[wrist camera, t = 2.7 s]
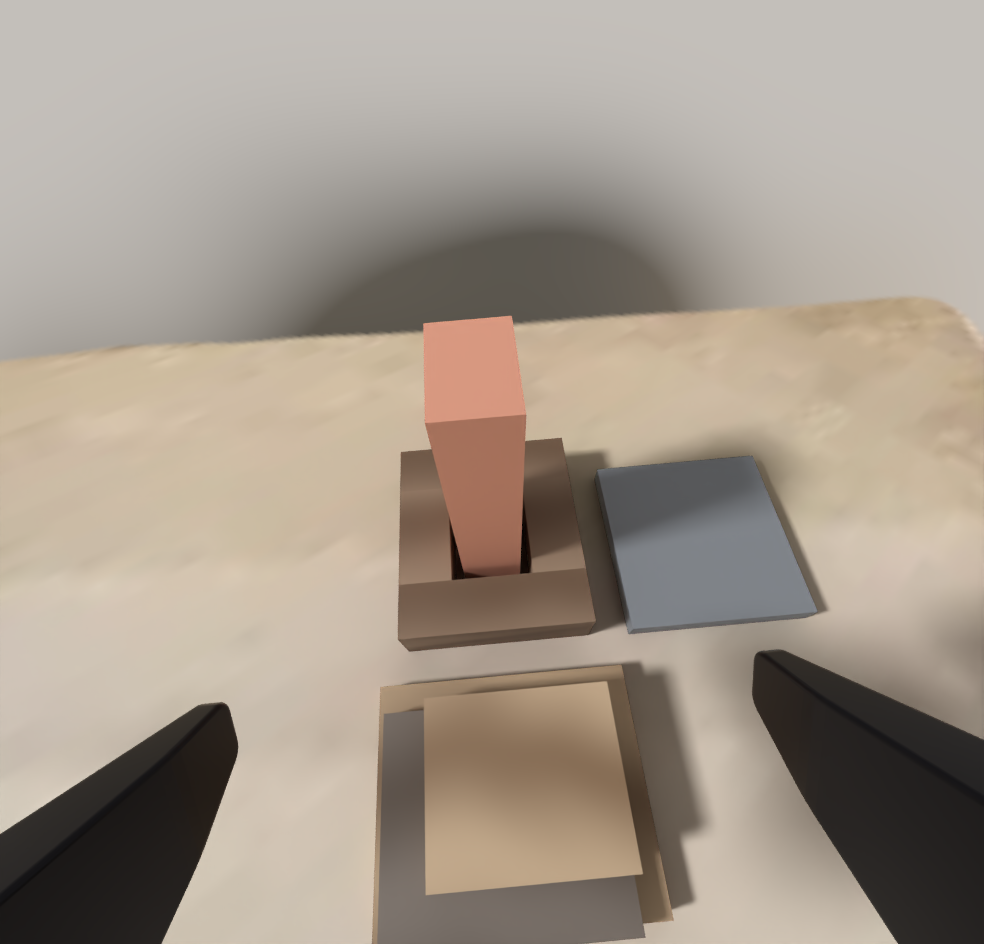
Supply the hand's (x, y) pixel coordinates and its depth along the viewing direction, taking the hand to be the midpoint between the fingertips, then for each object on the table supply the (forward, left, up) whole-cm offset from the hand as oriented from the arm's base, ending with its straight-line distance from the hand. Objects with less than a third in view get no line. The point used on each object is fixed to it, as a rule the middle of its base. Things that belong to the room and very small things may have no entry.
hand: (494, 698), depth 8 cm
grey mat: (-3, -12, -14) cm, 18 cm away
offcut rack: (+2, -3, -14) cm, 14 cm away
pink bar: (+5, -6, -14) cm, 16 cm away
